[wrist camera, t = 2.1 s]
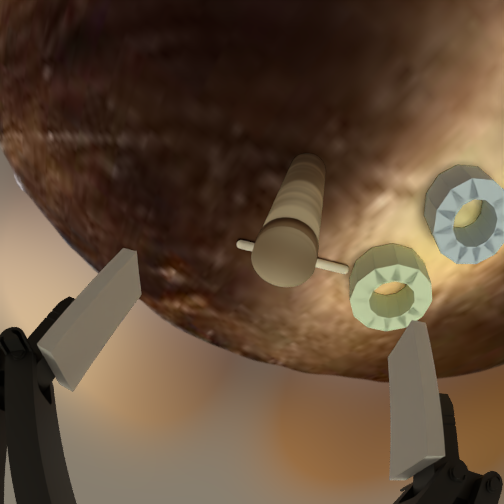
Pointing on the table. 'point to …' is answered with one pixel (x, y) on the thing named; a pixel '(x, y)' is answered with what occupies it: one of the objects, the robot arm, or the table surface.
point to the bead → (385, 271)
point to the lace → (319, 264)
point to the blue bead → (448, 205)
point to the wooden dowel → (292, 226)
